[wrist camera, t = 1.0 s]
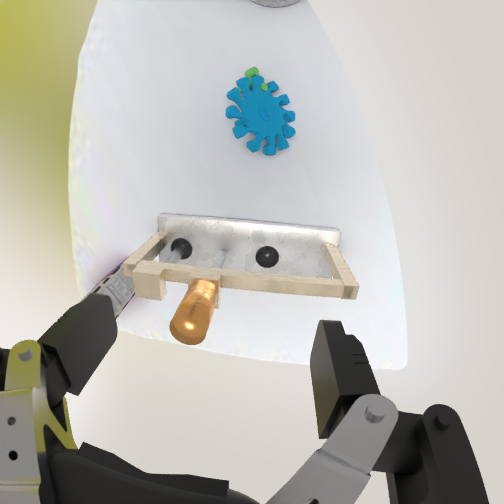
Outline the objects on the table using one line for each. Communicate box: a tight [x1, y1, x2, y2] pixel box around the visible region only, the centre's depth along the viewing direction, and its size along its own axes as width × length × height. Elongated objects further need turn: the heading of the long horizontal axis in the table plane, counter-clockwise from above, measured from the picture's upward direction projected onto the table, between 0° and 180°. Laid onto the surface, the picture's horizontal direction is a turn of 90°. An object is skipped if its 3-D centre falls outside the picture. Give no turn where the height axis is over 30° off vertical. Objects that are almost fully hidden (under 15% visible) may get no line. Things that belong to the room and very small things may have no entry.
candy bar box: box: [79, 260, 135, 319], centre depth 36 cm, size 11×5×16 cm, turn 125°
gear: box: [226, 67, 295, 156], centre depth 30 cm, size 11×6×10 cm
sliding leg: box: [170, 251, 227, 345], centre depth 29 cm, size 3×3×18 cm
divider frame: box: [123, 214, 359, 301], centre depth 33 cm, size 9×25×14 cm, turn 86°
